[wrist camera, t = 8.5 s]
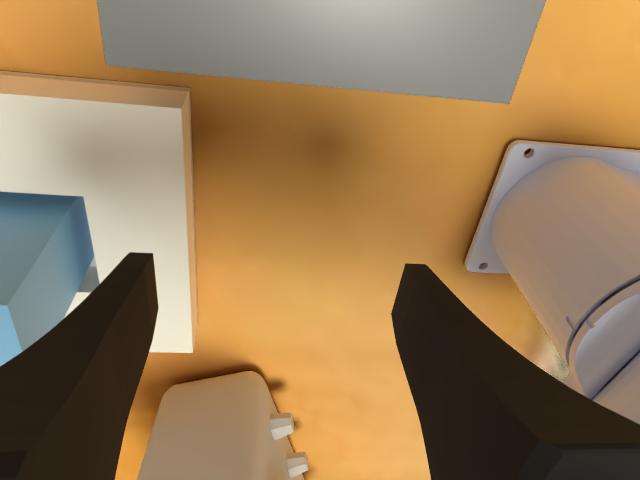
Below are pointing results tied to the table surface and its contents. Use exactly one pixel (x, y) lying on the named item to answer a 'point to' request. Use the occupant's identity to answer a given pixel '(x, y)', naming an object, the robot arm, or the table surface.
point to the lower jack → (112, 177)
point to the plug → (39, 264)
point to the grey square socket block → (331, 42)
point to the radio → (221, 433)
